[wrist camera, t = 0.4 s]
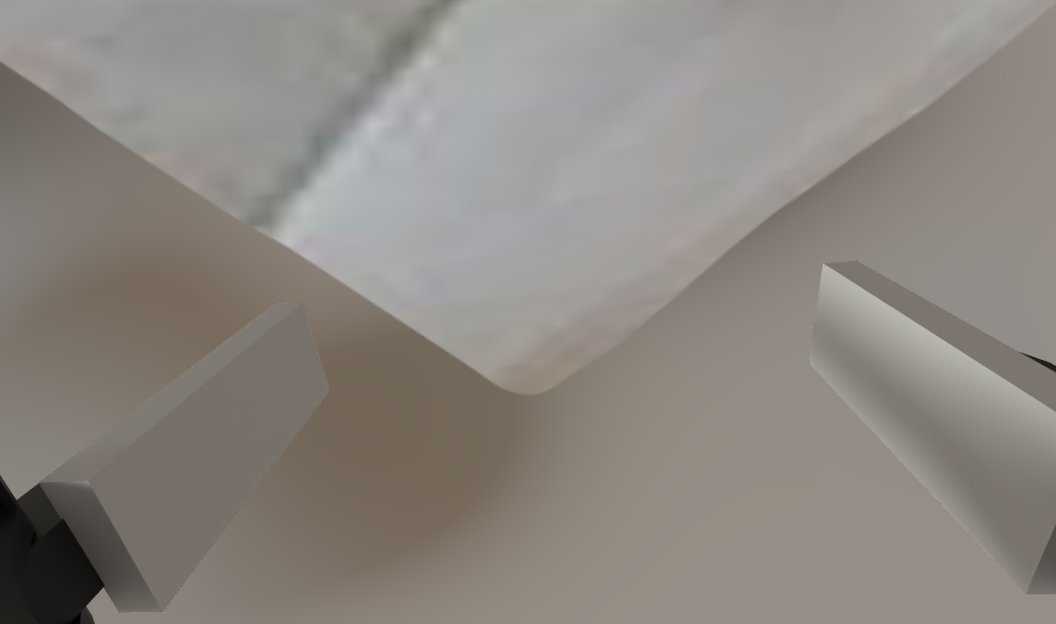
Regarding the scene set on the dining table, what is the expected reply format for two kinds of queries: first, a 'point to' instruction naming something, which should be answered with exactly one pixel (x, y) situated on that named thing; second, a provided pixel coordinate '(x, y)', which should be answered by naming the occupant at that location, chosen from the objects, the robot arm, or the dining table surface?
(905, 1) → the dining table surface
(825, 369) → the robot arm
